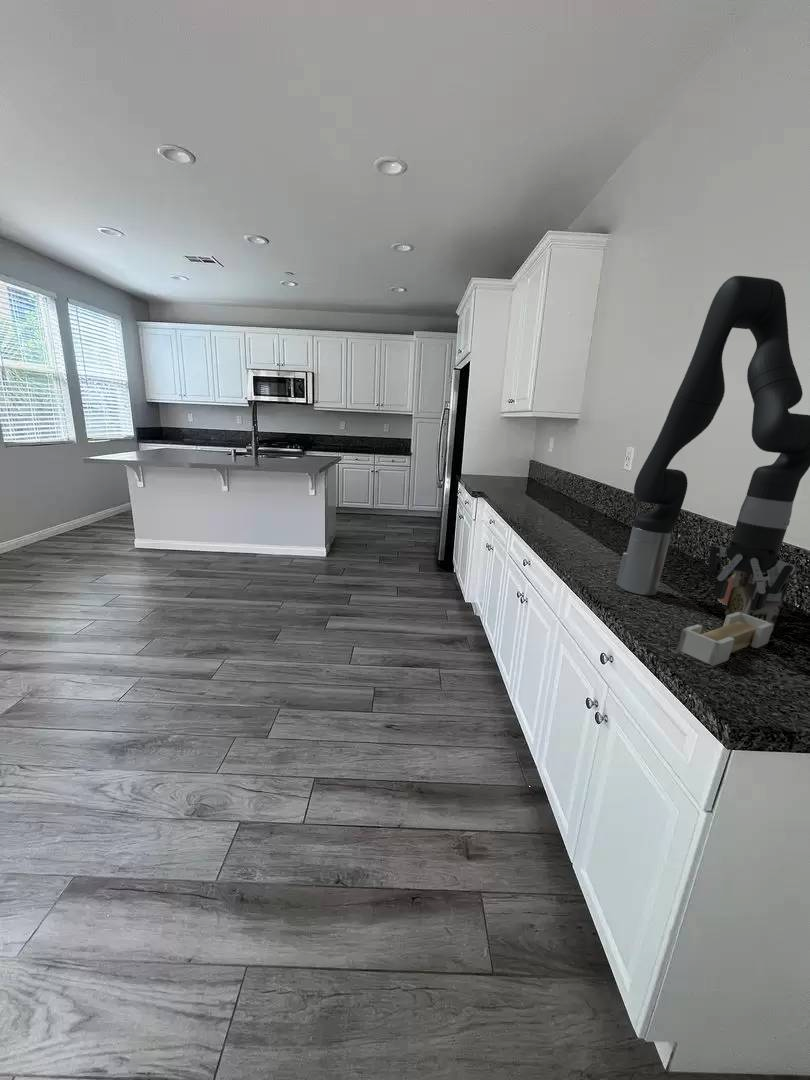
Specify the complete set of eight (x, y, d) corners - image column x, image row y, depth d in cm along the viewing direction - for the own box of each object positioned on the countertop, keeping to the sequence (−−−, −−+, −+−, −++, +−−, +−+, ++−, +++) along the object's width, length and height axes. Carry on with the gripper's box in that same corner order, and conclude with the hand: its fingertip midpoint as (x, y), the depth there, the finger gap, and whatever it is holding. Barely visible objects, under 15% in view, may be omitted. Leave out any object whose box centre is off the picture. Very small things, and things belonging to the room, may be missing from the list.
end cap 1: (677, 649, 86) (682, 628, 85) (692, 644, 89) (697, 624, 88) (713, 666, 81) (720, 644, 80) (728, 660, 84) (734, 638, 83)
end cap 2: (767, 643, 93) (774, 624, 92) (755, 648, 90) (762, 628, 89) (732, 630, 99) (738, 611, 97) (720, 634, 96) (726, 615, 94)
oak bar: (692, 654, 86) (697, 635, 85) (733, 638, 95) (738, 621, 94) (710, 662, 83) (716, 643, 82) (751, 645, 92) (757, 627, 91)
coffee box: (774, 633, 99) (796, 566, 95) (742, 628, 100) (763, 561, 96) (751, 617, 108) (771, 555, 104) (722, 613, 109) (741, 551, 105)
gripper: (711, 514, 87) (689, 593, 91) (801, 532, 75) (772, 622, 80) (729, 513, 91) (707, 589, 95) (817, 530, 79) (788, 616, 83)
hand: (736, 603), depth 87 cm, fingers open, 5 cm apart
